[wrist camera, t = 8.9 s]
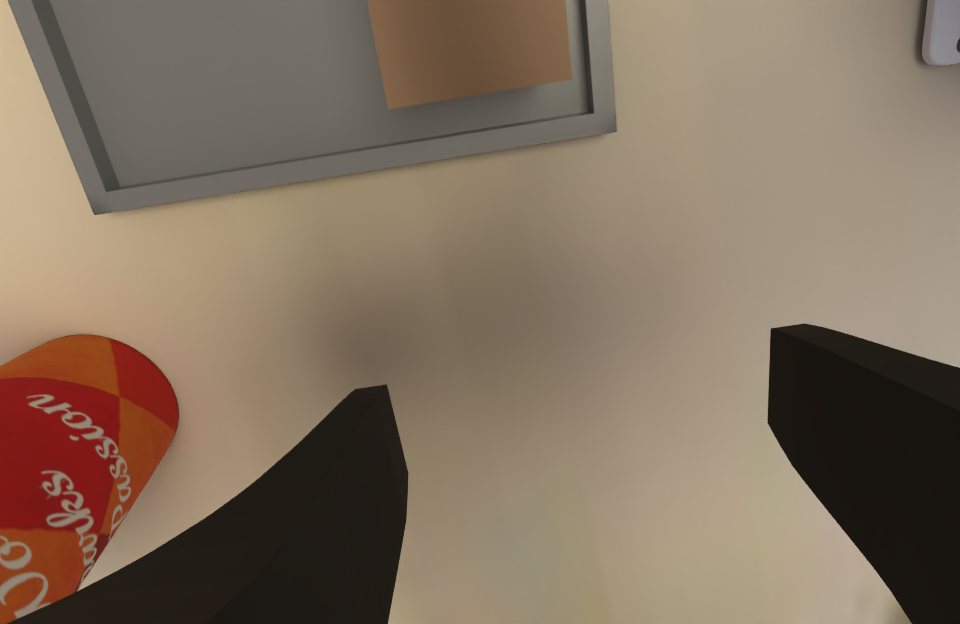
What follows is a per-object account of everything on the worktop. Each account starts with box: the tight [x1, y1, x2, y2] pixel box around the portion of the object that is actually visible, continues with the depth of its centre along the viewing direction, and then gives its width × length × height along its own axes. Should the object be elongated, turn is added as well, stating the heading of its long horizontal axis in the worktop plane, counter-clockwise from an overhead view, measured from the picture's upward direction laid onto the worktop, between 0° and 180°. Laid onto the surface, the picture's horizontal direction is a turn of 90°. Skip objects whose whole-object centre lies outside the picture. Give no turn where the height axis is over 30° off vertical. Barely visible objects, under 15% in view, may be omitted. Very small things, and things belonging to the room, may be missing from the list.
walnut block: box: [367, 0, 572, 110], centre depth 15 cm, size 4×4×5 cm
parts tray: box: [8, 0, 617, 215], centre depth 17 cm, size 16×8×1 cm, turn 99°
